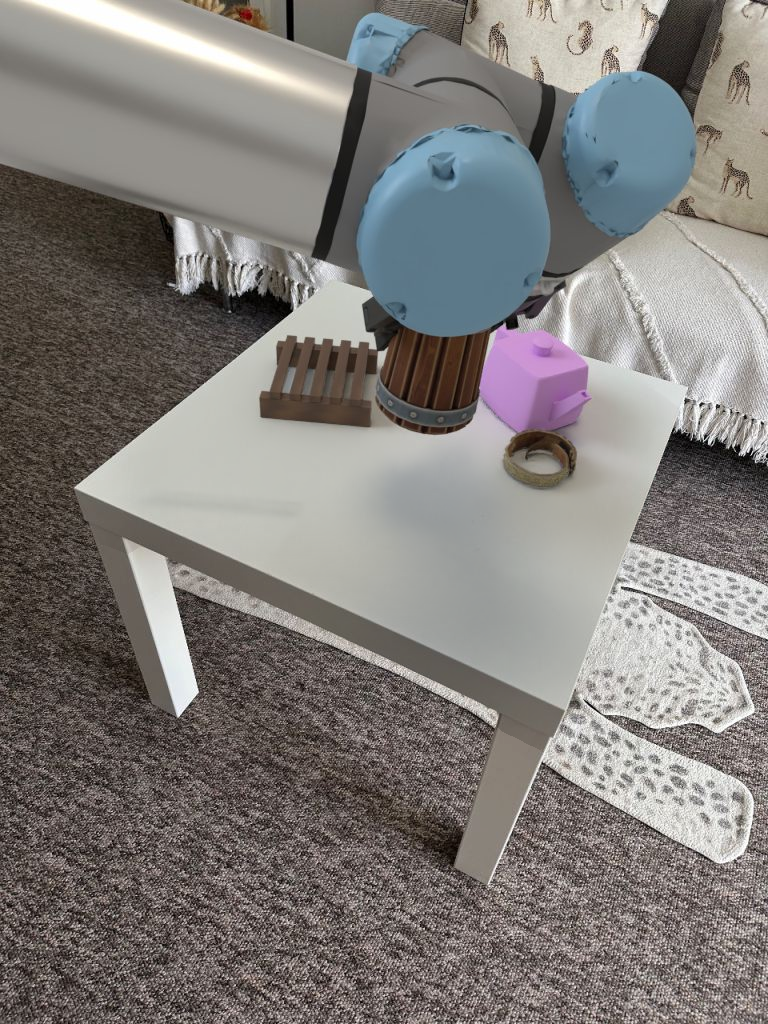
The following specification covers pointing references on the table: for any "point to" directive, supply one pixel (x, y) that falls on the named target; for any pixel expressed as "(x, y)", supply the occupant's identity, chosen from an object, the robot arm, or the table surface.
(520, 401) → the teapot
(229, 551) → the table surface
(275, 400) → the drying rack
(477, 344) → the mug
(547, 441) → the bracelet
